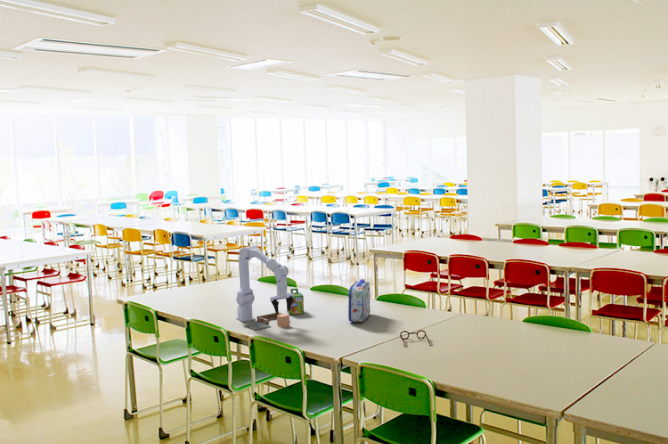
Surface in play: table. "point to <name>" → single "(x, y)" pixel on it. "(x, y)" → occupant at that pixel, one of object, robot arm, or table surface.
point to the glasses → (413, 333)
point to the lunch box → (359, 301)
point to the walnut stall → (267, 317)
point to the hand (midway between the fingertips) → (282, 311)
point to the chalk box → (296, 303)
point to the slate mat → (257, 326)
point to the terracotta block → (283, 320)
